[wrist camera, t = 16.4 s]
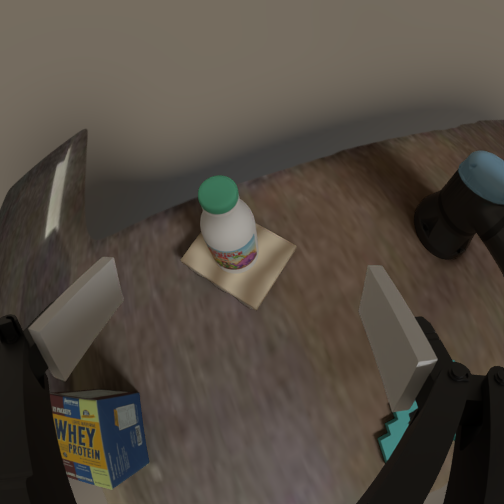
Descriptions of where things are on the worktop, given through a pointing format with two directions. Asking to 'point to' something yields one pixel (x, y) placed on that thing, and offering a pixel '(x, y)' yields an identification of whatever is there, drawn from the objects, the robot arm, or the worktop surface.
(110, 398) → the protein box
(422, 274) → the worktop surface
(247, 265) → the milk bottle
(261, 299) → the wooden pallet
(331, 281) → the worktop surface
